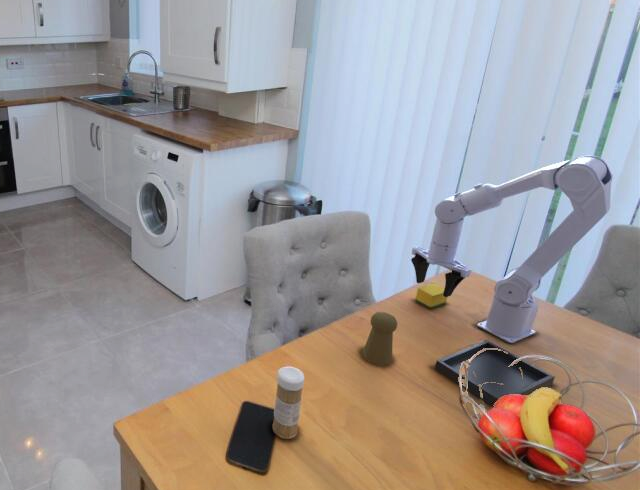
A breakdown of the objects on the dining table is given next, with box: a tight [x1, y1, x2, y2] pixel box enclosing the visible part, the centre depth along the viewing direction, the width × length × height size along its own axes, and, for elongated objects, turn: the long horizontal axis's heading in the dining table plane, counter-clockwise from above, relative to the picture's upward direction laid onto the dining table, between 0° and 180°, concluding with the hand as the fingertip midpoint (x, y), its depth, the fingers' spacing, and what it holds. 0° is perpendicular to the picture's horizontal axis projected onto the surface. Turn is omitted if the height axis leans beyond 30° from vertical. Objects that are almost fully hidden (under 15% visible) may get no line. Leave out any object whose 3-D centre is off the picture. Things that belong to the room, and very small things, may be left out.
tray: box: [434, 339, 556, 407], centre depth 101 cm, size 17×14×2 cm
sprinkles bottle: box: [271, 365, 305, 440], centre depth 88 cm, size 5×5×14 cm
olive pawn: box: [362, 311, 398, 367], centre depth 107 cm, size 6×6×11 cm
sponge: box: [414, 283, 448, 310], centre depth 128 cm, size 6×4×4 cm
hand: (433, 288), depth 127 cm, fingers open, 7 cm apart
